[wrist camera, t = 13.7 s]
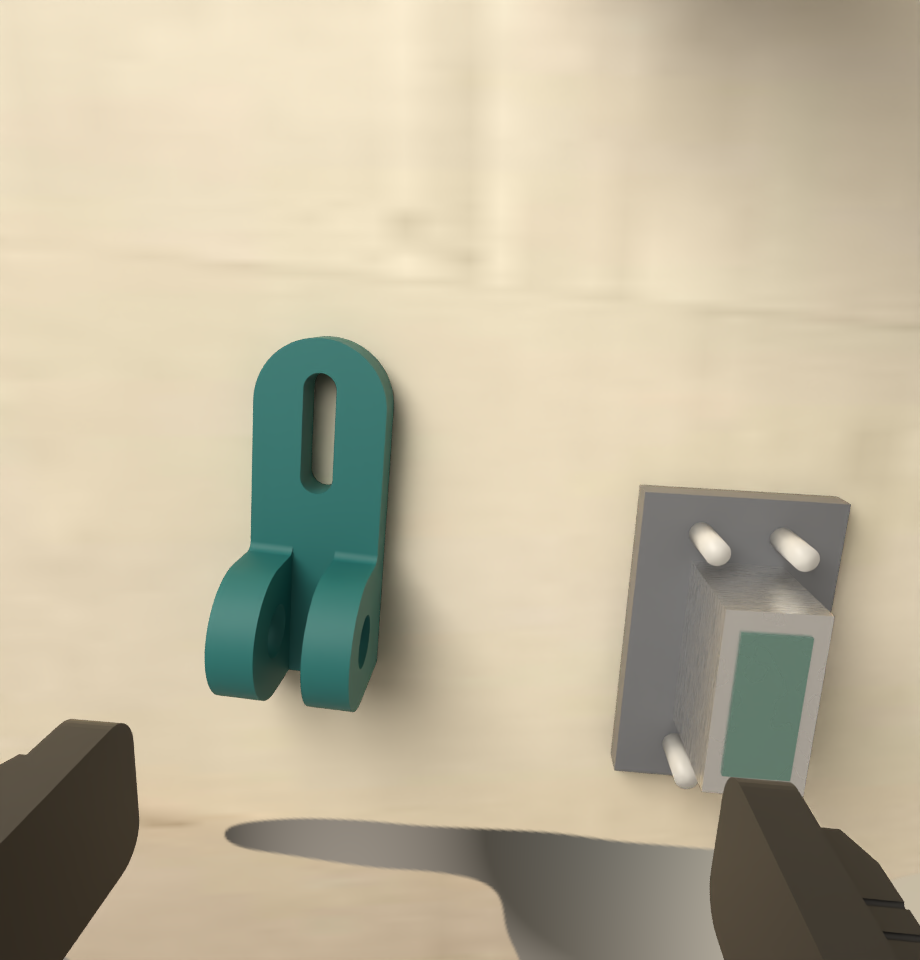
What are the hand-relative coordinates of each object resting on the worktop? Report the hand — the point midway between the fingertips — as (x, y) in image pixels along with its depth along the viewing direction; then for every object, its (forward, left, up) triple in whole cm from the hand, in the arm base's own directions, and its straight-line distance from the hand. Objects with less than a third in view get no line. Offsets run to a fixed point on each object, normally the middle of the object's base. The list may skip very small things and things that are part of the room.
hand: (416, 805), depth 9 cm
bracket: (+4, -9, -29) cm, 30 cm away
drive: (+10, +13, -27) cm, 31 cm away
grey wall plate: (+10, +13, -28) cm, 33 cm away
